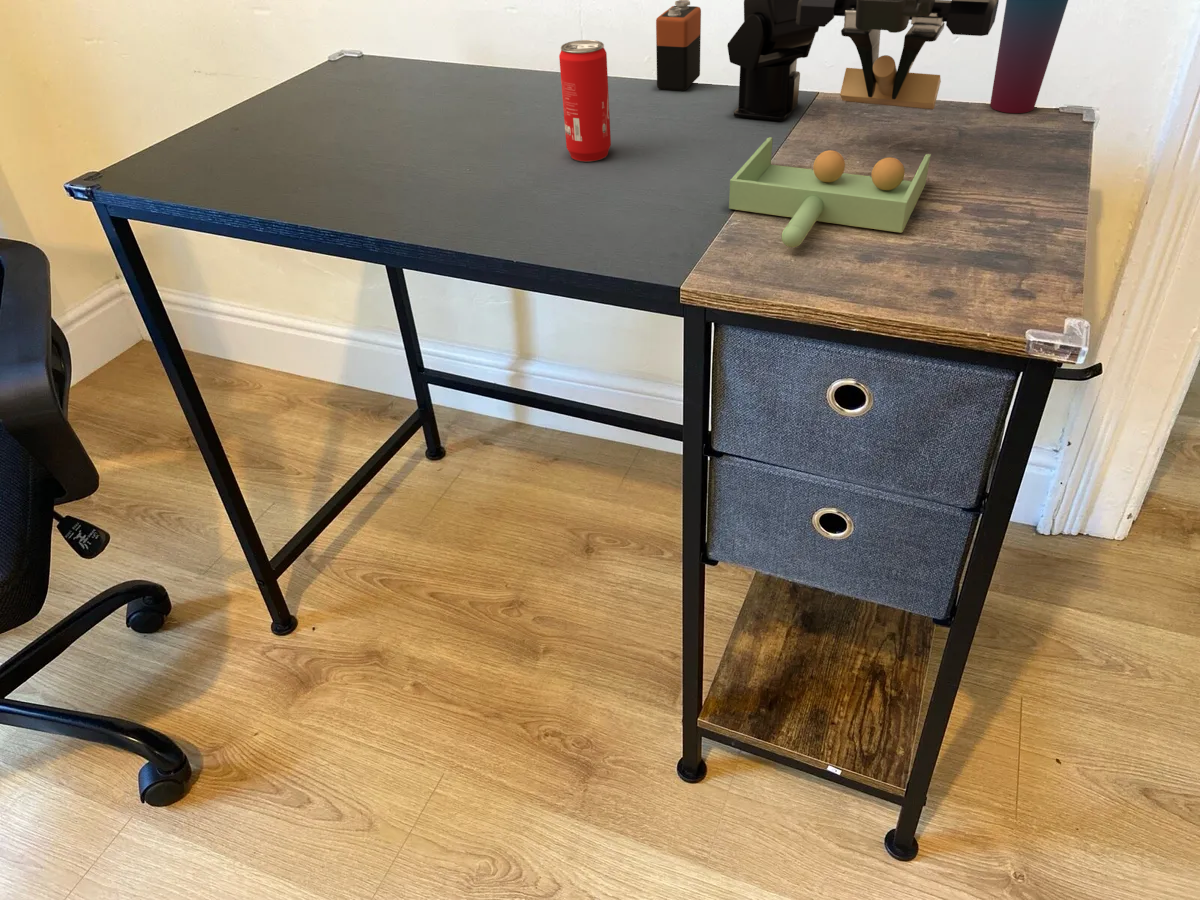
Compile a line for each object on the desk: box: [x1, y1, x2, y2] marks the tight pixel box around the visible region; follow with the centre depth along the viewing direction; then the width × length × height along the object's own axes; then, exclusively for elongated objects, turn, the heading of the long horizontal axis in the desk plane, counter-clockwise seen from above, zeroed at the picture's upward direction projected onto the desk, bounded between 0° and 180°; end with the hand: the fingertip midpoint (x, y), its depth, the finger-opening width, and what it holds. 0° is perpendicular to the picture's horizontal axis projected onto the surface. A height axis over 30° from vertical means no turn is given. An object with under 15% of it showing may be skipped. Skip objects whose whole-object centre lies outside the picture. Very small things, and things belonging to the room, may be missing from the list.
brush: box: [839, 54, 942, 111], centre depth 94 cm, size 10×3×9 cm
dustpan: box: [728, 136, 931, 249], centre depth 86 cm, size 20×17×3 cm
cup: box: [989, 0, 1069, 114], centre depth 102 cm, size 7×7×15 cm
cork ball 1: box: [812, 149, 846, 183], centre depth 91 cm, size 3×3×3 cm
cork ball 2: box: [871, 157, 906, 190], centre depth 89 cm, size 3×3×3 cm
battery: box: [655, 0, 702, 91], centre depth 119 cm, size 4×7×10 cm, turn 158°
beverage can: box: [558, 39, 612, 163], centre depth 99 cm, size 5×5×12 cm
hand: (882, 97), depth 93 cm, fingers closed on brush, 2 cm apart
